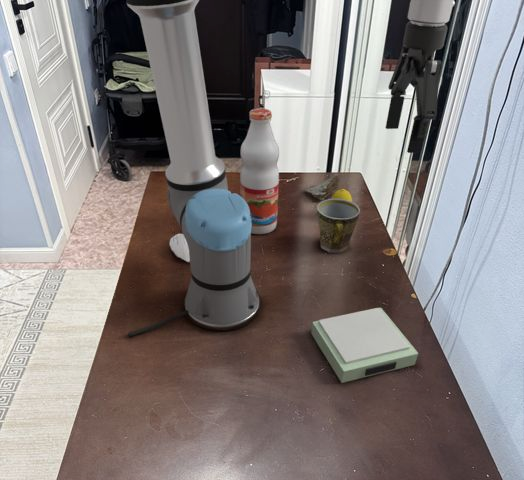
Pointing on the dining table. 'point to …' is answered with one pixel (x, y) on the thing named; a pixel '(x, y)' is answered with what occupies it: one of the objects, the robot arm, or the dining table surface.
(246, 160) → the fruit juice
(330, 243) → the ceramic cup
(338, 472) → the dining table surface
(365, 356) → the kitchen scale
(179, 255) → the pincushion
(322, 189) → the rock sample
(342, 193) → the lemon
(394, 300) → the dining table surface
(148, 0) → the robot arm
